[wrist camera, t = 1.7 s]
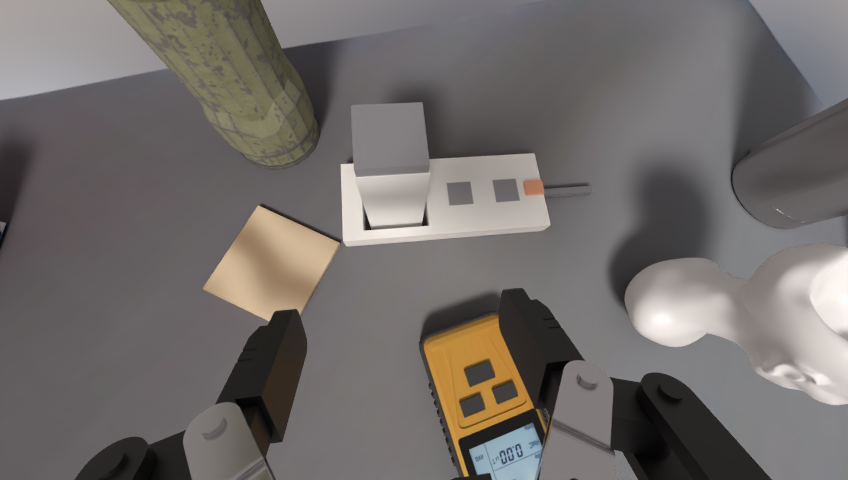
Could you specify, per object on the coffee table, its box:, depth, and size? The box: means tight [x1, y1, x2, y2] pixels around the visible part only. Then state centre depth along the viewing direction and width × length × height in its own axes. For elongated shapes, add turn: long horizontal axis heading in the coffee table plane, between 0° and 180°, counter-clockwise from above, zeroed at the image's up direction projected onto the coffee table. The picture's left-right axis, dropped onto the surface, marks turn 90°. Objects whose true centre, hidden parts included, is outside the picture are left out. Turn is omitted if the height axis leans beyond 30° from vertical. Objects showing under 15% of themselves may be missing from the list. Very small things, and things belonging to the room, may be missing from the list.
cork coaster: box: [203, 206, 340, 321], centre depth 29 cm, size 9×9×1 cm
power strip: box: [341, 153, 593, 246], centre depth 31 cm, size 8×26×2 cm, turn 96°
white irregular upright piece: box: [625, 244, 848, 405], centre depth 22 cm, size 10×11×15 cm
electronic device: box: [419, 312, 548, 480], centre depth 26 cm, size 8×16×3 cm, turn 19°
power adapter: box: [351, 102, 430, 230], centre depth 26 cm, size 5×5×12 cm
